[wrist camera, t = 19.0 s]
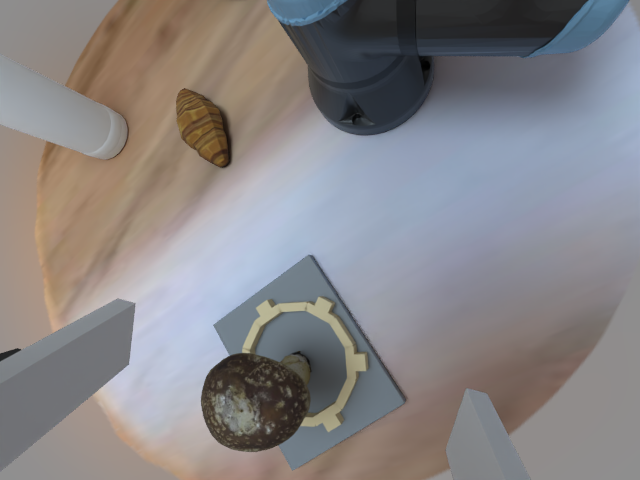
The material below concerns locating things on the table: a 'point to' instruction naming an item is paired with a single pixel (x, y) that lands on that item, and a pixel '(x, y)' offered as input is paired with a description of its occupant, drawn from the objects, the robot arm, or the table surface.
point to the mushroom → (256, 400)
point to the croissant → (202, 127)
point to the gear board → (314, 356)
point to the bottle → (57, 113)
